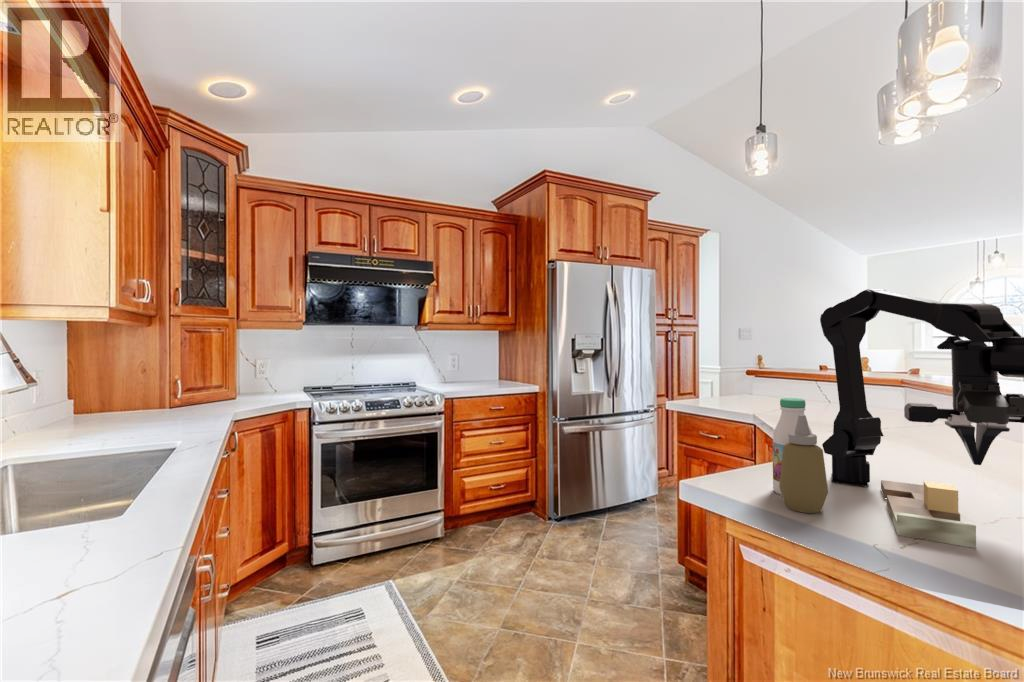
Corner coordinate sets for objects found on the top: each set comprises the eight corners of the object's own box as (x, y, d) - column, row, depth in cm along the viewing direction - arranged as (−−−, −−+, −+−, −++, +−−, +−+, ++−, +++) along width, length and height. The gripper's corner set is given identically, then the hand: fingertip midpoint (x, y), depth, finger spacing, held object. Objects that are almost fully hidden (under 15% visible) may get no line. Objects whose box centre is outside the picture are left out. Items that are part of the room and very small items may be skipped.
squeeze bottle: (805, 518, 86) (804, 420, 86) (769, 504, 94) (768, 413, 93) (839, 513, 88) (838, 417, 88) (801, 499, 96) (800, 411, 96)
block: (927, 509, 84) (927, 487, 84) (923, 502, 87) (923, 481, 87) (958, 513, 82) (958, 490, 82) (952, 506, 85) (952, 484, 85)
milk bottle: (808, 488, 102) (807, 396, 102) (821, 501, 95) (820, 401, 95) (768, 486, 104) (767, 396, 104) (778, 498, 97) (777, 401, 97)
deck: (897, 534, 78) (897, 514, 78) (881, 489, 101) (880, 473, 101) (976, 548, 73) (976, 526, 73) (940, 496, 96) (940, 480, 96)
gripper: (913, 377, 81) (916, 468, 81) (1075, 380, 71) (1078, 484, 71) (902, 373, 90) (905, 455, 90) (1044, 375, 80) (1046, 466, 80)
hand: (977, 464), depth 82 cm, fingers closed
